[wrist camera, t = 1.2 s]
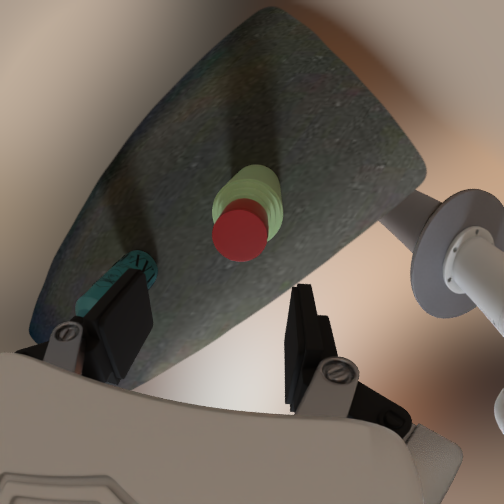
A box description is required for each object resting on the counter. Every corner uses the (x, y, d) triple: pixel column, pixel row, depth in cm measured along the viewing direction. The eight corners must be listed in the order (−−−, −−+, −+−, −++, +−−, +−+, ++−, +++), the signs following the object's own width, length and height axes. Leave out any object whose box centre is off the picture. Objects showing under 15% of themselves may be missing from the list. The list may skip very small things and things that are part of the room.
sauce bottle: (287, 176, 36) (300, 212, 19) (268, 218, 38) (263, 285, 22) (243, 157, 35) (214, 175, 18) (225, 199, 38) (186, 254, 21)
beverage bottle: (167, 278, 44) (111, 366, 25) (134, 282, 45) (72, 361, 26) (155, 241, 41) (83, 317, 23) (121, 248, 42) (45, 317, 24)
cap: (273, 202, 22) (272, 214, 19) (265, 246, 24) (263, 266, 20) (224, 194, 22) (215, 205, 19) (218, 239, 24) (209, 256, 20)
